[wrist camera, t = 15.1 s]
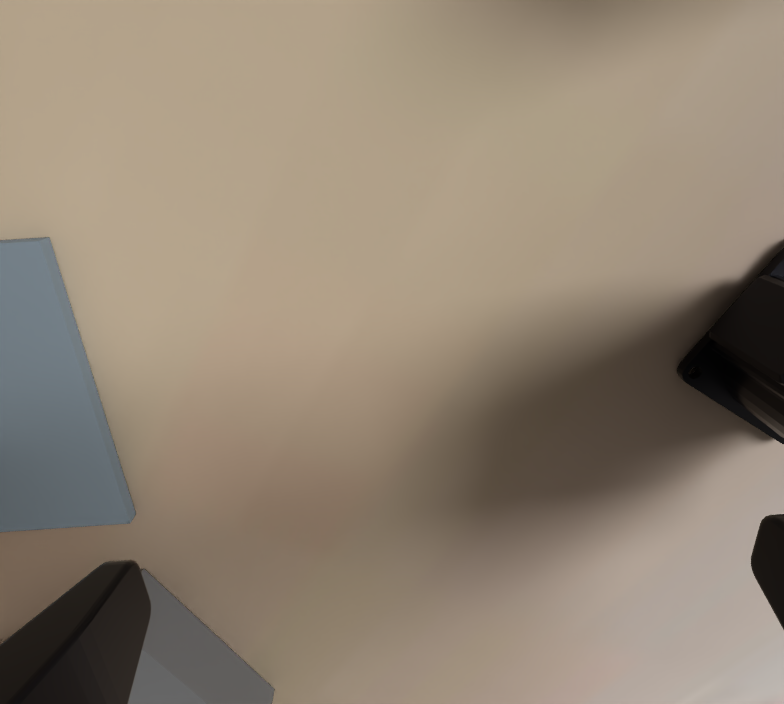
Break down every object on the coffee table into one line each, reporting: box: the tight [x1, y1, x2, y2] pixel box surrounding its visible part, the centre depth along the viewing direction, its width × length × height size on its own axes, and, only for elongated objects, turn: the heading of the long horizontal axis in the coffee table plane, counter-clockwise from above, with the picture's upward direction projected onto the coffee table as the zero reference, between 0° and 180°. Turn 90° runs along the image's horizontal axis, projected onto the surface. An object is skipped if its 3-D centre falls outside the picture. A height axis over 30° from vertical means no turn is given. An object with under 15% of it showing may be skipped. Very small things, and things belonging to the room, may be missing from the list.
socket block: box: [128, 569, 274, 704], centre depth 26 cm, size 10×10×3 cm
